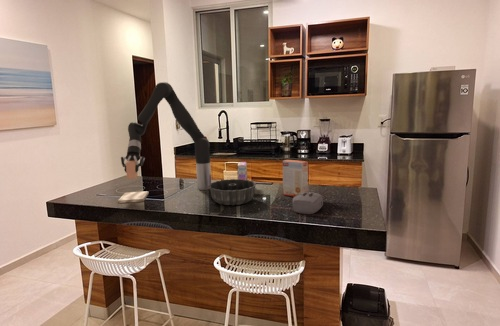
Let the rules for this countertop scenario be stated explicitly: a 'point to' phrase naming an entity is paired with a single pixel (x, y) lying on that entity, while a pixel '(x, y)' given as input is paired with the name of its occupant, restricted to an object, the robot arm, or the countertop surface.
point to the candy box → (242, 170)
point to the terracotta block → (131, 170)
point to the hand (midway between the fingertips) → (131, 171)
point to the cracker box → (295, 177)
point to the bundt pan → (232, 191)
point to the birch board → (133, 197)
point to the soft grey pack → (307, 202)
